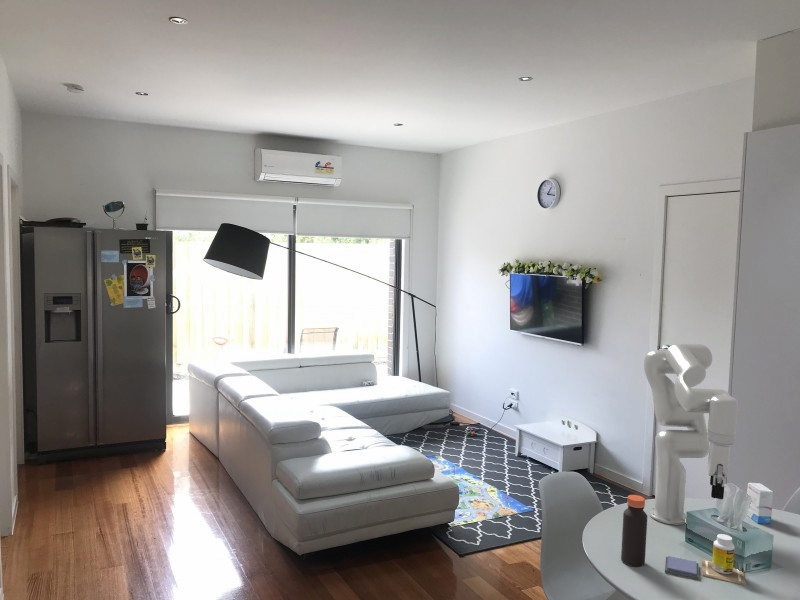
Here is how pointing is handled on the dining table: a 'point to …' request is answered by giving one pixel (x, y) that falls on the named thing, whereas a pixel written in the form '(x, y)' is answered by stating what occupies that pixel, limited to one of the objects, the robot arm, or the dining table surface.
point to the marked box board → (711, 573)
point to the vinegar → (634, 532)
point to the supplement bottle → (723, 554)
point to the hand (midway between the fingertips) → (716, 491)
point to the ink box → (760, 503)
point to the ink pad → (682, 567)
